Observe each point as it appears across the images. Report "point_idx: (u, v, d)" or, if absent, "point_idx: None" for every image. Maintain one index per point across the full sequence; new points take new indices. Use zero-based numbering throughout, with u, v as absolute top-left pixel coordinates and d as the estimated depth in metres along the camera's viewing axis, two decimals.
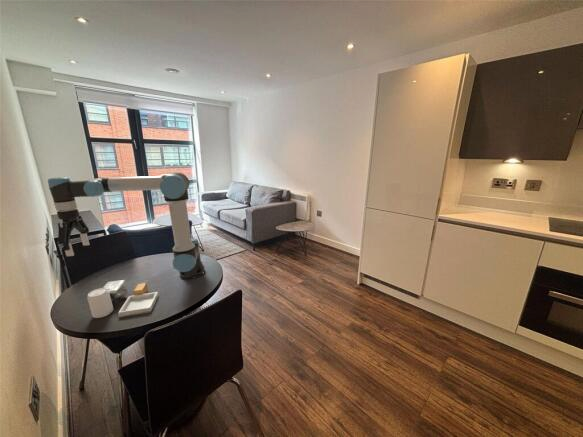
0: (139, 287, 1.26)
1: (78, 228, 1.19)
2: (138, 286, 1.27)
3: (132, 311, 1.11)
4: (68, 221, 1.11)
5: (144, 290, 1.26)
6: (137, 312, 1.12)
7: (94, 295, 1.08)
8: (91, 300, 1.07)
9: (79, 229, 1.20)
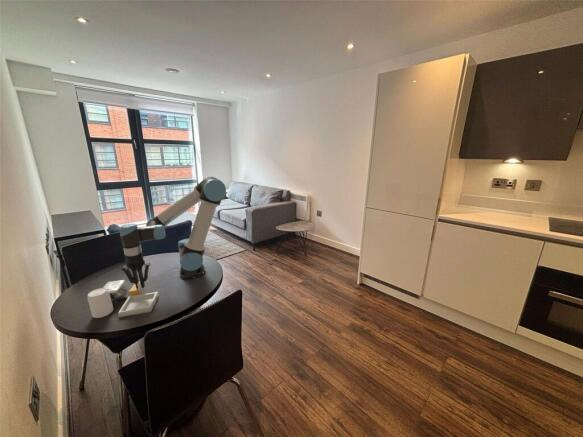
0: (134, 287, 1.26)
1: None
2: (133, 286, 1.26)
3: (132, 311, 1.11)
4: (126, 264, 1.20)
5: None
6: (137, 312, 1.12)
7: (94, 295, 1.08)
8: (91, 300, 1.07)
9: None
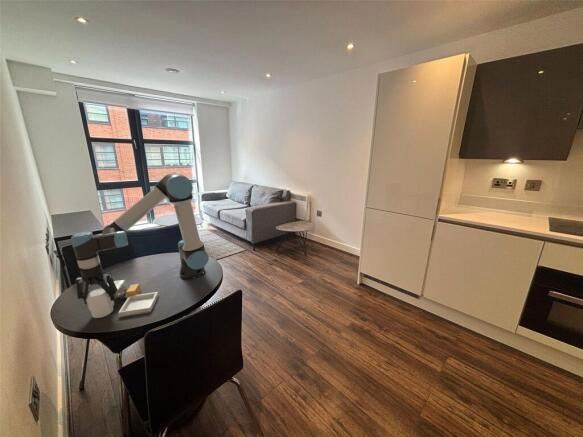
0: (131, 287, 1.26)
1: None
2: (131, 287, 1.26)
3: (132, 311, 1.11)
4: (83, 277, 1.06)
5: (136, 291, 1.26)
6: (137, 312, 1.12)
7: (94, 295, 1.08)
8: (91, 300, 1.07)
9: None
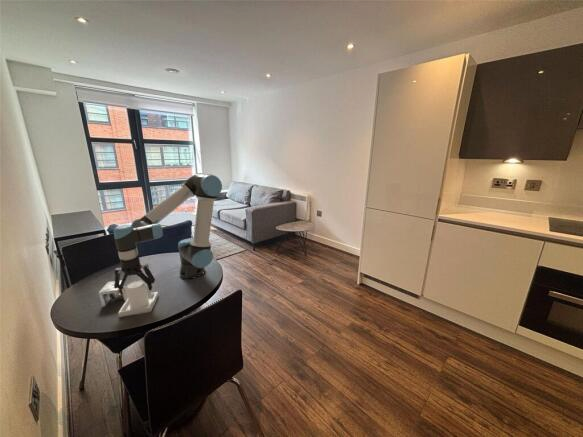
0: None
1: None
2: None
3: (132, 311, 1.11)
4: (122, 268, 1.10)
5: None
6: (137, 312, 1.12)
7: (133, 287, 1.13)
8: (130, 292, 1.12)
9: None
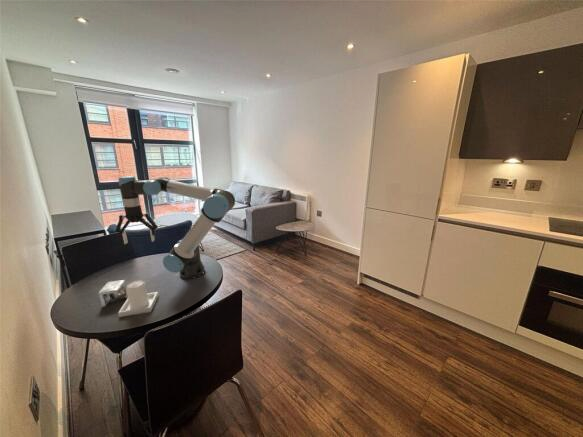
0: None
1: None
2: None
3: (132, 311, 1.11)
4: (126, 215, 1.25)
5: None
6: (137, 312, 1.12)
7: (133, 287, 1.13)
8: (130, 292, 1.12)
9: None
